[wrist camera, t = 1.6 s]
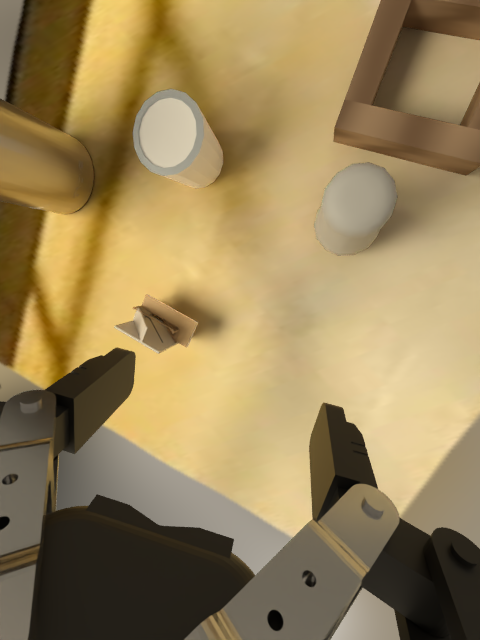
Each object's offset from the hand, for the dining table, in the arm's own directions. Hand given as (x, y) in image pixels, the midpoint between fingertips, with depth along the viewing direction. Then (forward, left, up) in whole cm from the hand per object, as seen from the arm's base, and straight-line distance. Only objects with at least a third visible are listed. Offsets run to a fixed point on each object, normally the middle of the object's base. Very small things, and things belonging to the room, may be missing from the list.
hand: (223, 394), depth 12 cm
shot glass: (-15, +13, -21) cm, 29 cm away
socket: (+4, +24, -21) cm, 32 cm away
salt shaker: (+2, +11, -21) cm, 24 cm away
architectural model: (-13, -6, -22) cm, 26 cm away
